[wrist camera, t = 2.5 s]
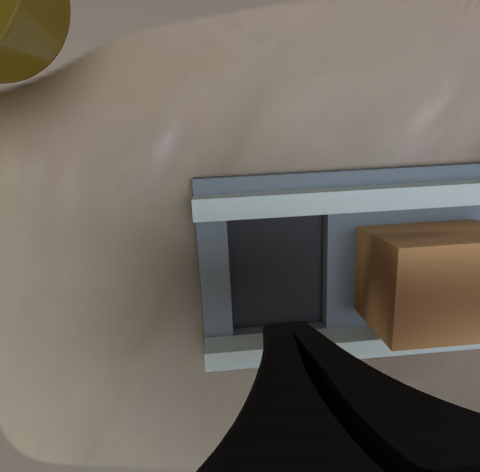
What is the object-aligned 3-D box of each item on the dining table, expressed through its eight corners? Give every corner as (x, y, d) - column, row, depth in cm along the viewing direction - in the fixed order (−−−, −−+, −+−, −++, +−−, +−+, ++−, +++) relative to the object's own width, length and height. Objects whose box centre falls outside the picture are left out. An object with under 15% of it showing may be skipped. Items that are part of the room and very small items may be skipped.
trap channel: (620, 321, 21) (672, 344, 19) (207, 356, 20) (206, 385, 17) (661, 152, 19) (728, 152, 16) (193, 177, 17) (189, 182, 15)
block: (462, 300, 19) (527, 339, 15) (354, 308, 18) (391, 351, 14) (472, 218, 18) (545, 238, 14) (357, 226, 17) (398, 248, 13)
